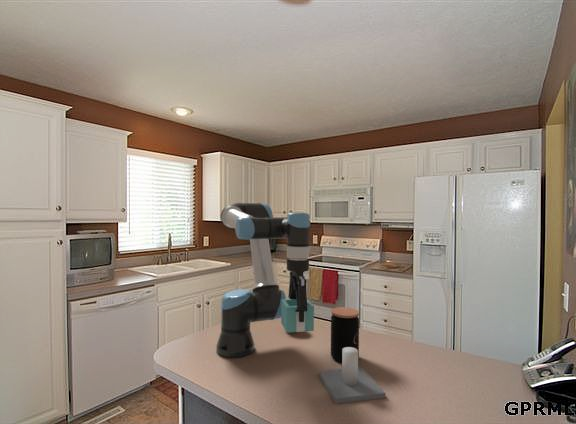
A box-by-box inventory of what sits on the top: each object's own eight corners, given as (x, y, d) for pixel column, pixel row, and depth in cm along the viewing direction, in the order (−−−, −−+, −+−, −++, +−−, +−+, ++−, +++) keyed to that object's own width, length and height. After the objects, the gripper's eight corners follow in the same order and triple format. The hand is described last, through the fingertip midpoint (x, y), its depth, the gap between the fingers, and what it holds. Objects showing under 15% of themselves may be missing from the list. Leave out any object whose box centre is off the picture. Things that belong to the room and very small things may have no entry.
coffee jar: (359, 365, 114) (359, 316, 114) (329, 362, 116) (330, 314, 116) (358, 353, 124) (358, 308, 124) (331, 350, 126) (331, 306, 126)
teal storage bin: (281, 322, 107) (281, 299, 107) (306, 321, 109) (306, 298, 109) (286, 332, 99) (286, 307, 99) (313, 330, 100) (314, 306, 100)
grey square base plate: (318, 375, 106) (318, 342, 106) (361, 371, 109) (362, 338, 110) (335, 403, 91) (335, 364, 91) (385, 397, 94) (385, 359, 94)
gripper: (318, 263, 94) (317, 338, 94) (300, 254, 115) (299, 314, 115) (294, 264, 93) (293, 339, 92) (280, 254, 114) (279, 315, 114)
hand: (296, 325), depth 104 cm, fingers closed on teal storage bin, 9 cm apart
